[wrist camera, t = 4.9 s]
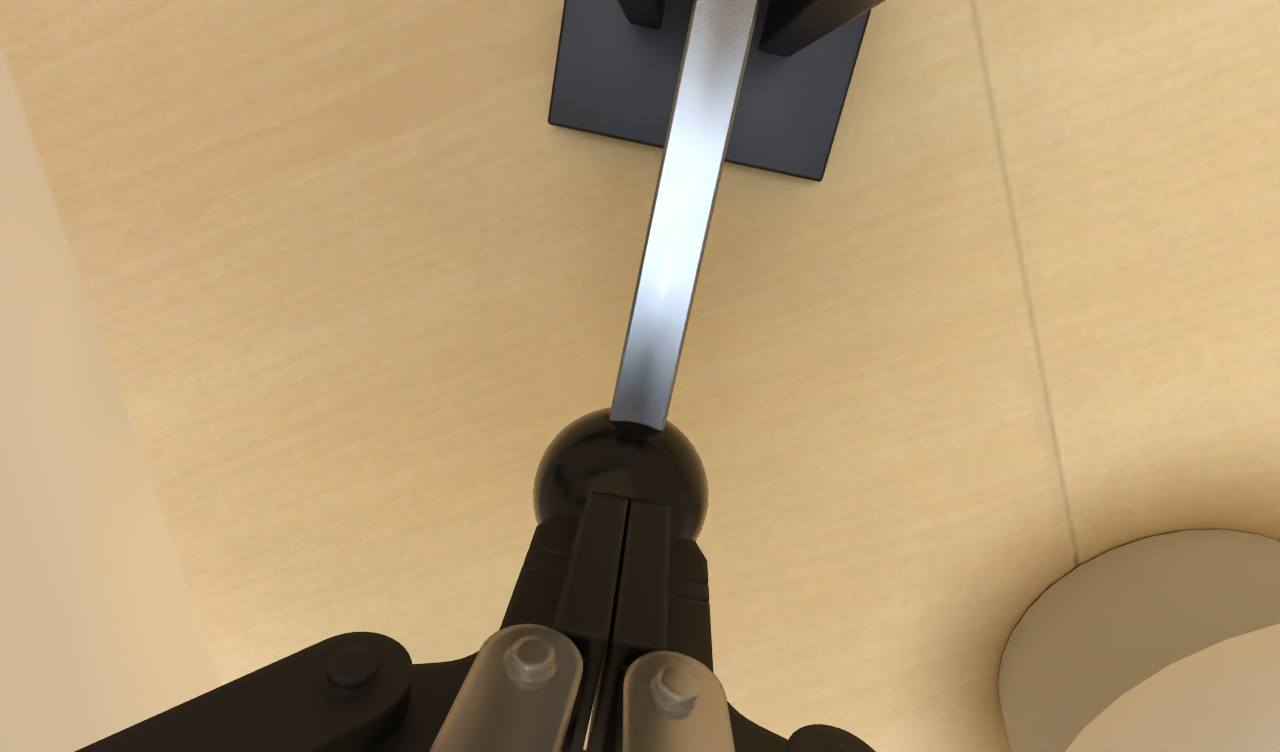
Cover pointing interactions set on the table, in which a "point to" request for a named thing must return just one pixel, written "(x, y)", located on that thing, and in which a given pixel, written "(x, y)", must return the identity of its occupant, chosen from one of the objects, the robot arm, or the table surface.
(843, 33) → the bracket
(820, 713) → the table surface
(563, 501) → the lever
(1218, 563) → the bowl
